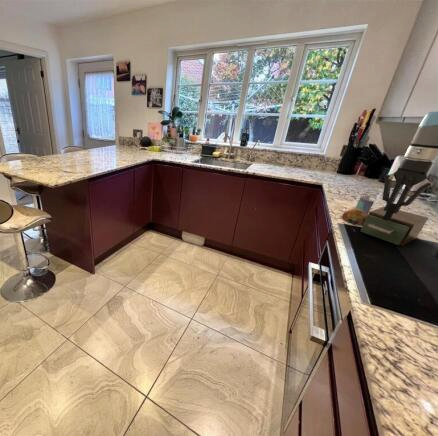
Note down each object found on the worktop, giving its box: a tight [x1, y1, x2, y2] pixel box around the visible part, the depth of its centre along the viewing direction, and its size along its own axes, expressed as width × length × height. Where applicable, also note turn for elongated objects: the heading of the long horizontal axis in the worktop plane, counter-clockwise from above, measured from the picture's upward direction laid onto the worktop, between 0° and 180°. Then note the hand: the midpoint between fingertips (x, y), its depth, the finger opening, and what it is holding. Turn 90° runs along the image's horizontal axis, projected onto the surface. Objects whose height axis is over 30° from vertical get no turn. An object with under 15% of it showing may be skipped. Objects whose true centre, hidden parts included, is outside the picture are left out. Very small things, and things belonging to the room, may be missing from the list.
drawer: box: [359, 215, 410, 246], centre depth 96 cm, size 20×13×8 cm, turn 118°
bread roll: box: [341, 207, 369, 226], centre depth 112 cm, size 10×10×8 cm
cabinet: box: [365, 206, 429, 247], centre depth 99 cm, size 16×14×10 cm
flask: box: [354, 194, 375, 214], centre depth 120 cm, size 9×3×11 cm, turn 164°
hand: (386, 219), depth 92 cm, fingers closed
